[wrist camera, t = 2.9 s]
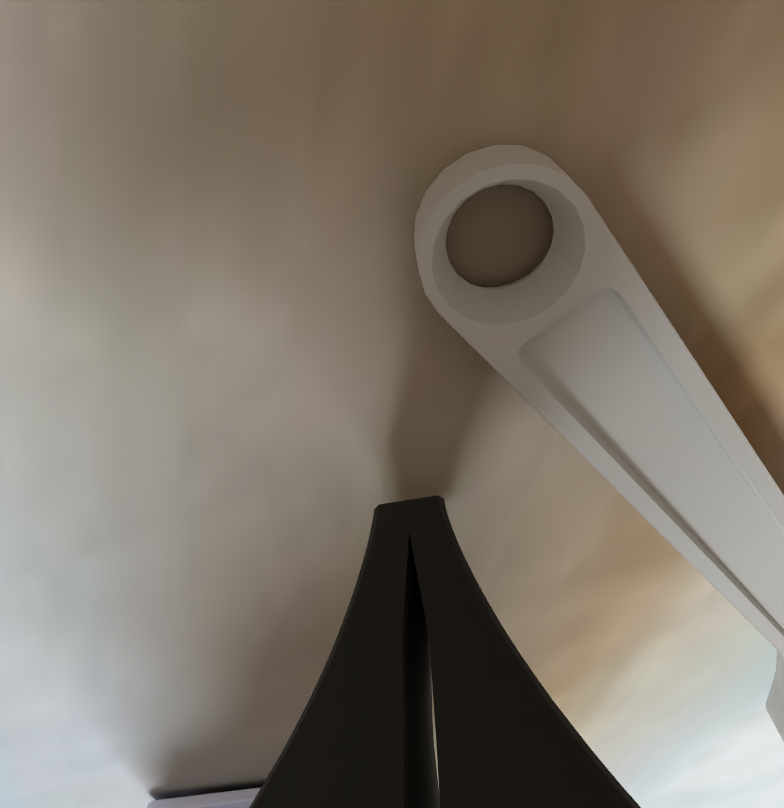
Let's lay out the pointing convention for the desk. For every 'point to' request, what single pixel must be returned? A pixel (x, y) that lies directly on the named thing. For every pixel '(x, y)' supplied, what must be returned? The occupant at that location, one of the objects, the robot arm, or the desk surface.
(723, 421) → the adjustable wrench
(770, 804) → the desk surface
